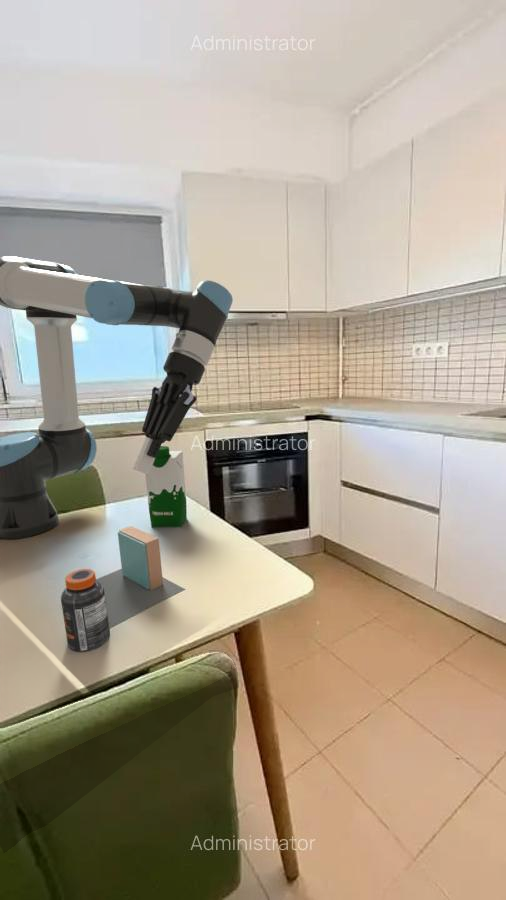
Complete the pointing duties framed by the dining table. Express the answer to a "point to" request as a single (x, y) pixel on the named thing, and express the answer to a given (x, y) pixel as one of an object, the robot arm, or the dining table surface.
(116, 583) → the mat
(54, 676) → the dining table surface
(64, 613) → the pill bottle
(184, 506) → the milk carton
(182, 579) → the dining table surface
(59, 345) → the robot arm
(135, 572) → the tile
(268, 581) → the dining table surface
